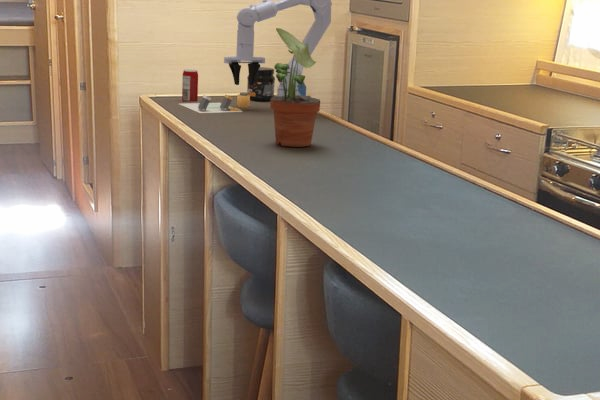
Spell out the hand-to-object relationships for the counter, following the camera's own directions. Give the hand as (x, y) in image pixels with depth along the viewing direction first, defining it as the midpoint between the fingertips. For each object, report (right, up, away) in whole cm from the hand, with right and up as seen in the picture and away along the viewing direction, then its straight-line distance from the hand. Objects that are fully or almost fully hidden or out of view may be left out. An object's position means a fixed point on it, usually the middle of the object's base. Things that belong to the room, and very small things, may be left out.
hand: (243, 84), depth 304 cm
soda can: (-21, -4, +19) cm, 29 cm away
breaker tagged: (-7, -9, -1) cm, 11 cm away
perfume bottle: (+17, -3, +33) cm, 37 cm away
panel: (-12, -9, +3) cm, 15 cm away
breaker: (-14, -10, -5) cm, 18 cm away
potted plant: (+17, -24, -48) cm, 56 cm away
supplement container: (+4, -1, +36) cm, 36 cm away
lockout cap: (-1, -8, +10) cm, 13 cm away
